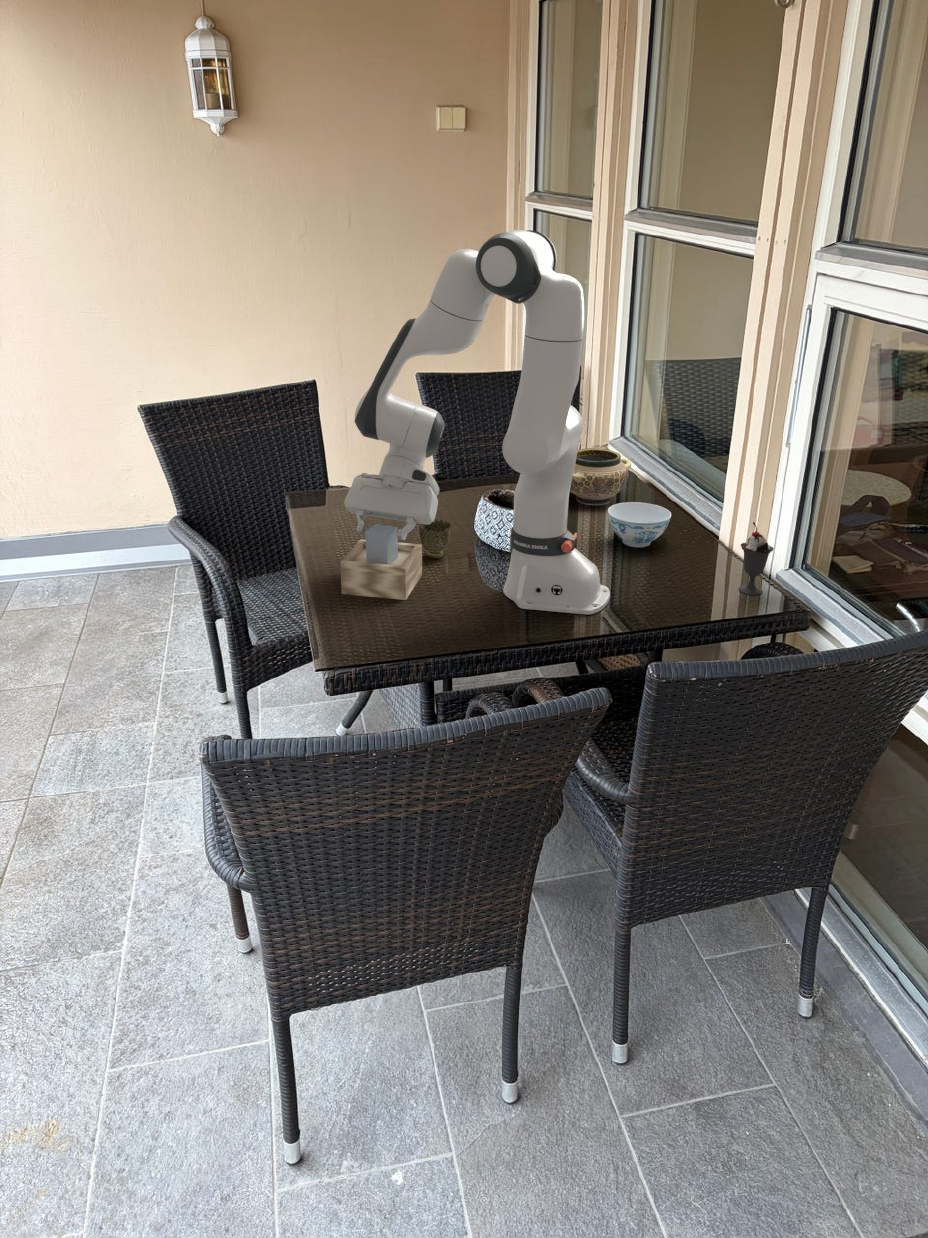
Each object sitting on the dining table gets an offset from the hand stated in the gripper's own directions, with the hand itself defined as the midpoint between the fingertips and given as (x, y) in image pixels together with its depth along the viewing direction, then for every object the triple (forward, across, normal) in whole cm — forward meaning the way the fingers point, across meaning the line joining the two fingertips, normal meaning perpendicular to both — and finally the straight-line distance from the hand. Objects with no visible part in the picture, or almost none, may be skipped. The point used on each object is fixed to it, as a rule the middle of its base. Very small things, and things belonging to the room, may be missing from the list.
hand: (380, 535), depth 196 cm
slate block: (+4, 0, +4) cm, 6 cm away
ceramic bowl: (-44, +27, +61) cm, 80 cm away
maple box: (+8, 0, +9) cm, 12 cm away
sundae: (-12, +74, +28) cm, 80 cm away
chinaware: (-25, +45, +42) cm, 67 cm away
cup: (-6, +4, +22) cm, 23 cm away
